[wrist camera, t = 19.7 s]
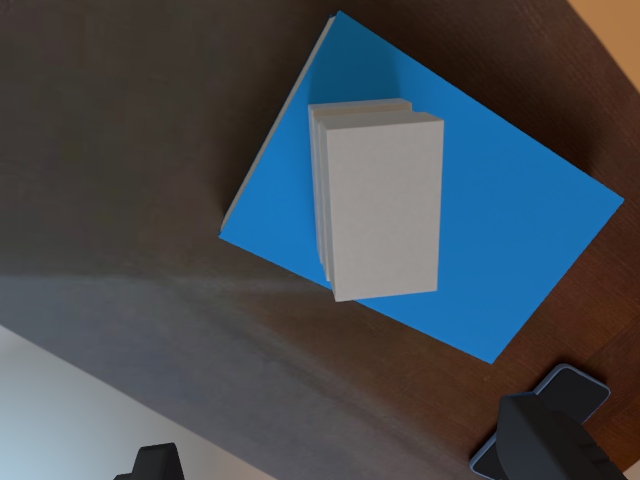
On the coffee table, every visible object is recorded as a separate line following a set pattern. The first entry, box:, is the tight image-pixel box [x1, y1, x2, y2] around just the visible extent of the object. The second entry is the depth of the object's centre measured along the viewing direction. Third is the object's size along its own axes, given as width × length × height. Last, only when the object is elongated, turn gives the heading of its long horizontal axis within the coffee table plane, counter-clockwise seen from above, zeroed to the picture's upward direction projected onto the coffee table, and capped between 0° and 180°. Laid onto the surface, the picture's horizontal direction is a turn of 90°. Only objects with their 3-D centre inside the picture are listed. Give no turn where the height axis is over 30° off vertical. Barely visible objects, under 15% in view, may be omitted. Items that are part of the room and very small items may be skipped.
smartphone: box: [469, 363, 610, 480], centre depth 48 cm, size 7×1×15 cm
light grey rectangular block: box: [308, 98, 415, 281], centre depth 29 cm, size 10×6×5 cm, turn 3°
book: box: [218, 10, 625, 364], centre depth 35 cm, size 17×4×25 cm
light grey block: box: [320, 112, 444, 301], centre depth 26 cm, size 10×6×3 cm, turn 4°
